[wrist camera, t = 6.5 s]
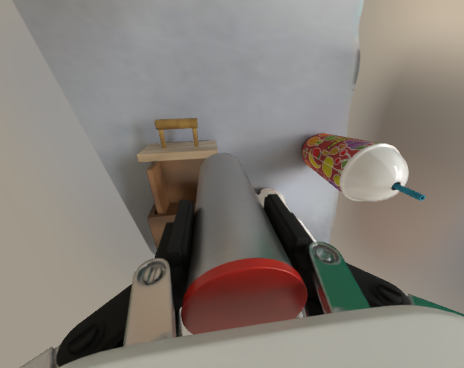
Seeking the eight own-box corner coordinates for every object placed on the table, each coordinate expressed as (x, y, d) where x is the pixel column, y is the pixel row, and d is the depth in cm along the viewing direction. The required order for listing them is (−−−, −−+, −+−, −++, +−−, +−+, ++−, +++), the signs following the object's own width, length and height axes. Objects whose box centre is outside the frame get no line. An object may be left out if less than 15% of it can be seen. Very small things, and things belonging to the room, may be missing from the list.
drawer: (144, 117, 28) (127, 122, 22) (213, 115, 30) (215, 119, 24) (164, 203, 36) (155, 225, 30) (219, 199, 37) (221, 218, 31)
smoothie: (337, 126, 34) (480, 154, 16) (330, 165, 38) (439, 224, 20) (297, 130, 33) (400, 164, 16) (293, 170, 37) (373, 234, 19)
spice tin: (195, 152, 16) (170, 277, 5) (244, 150, 16) (321, 260, 5) (200, 195, 18) (189, 350, 7) (243, 192, 18) (296, 333, 8)
